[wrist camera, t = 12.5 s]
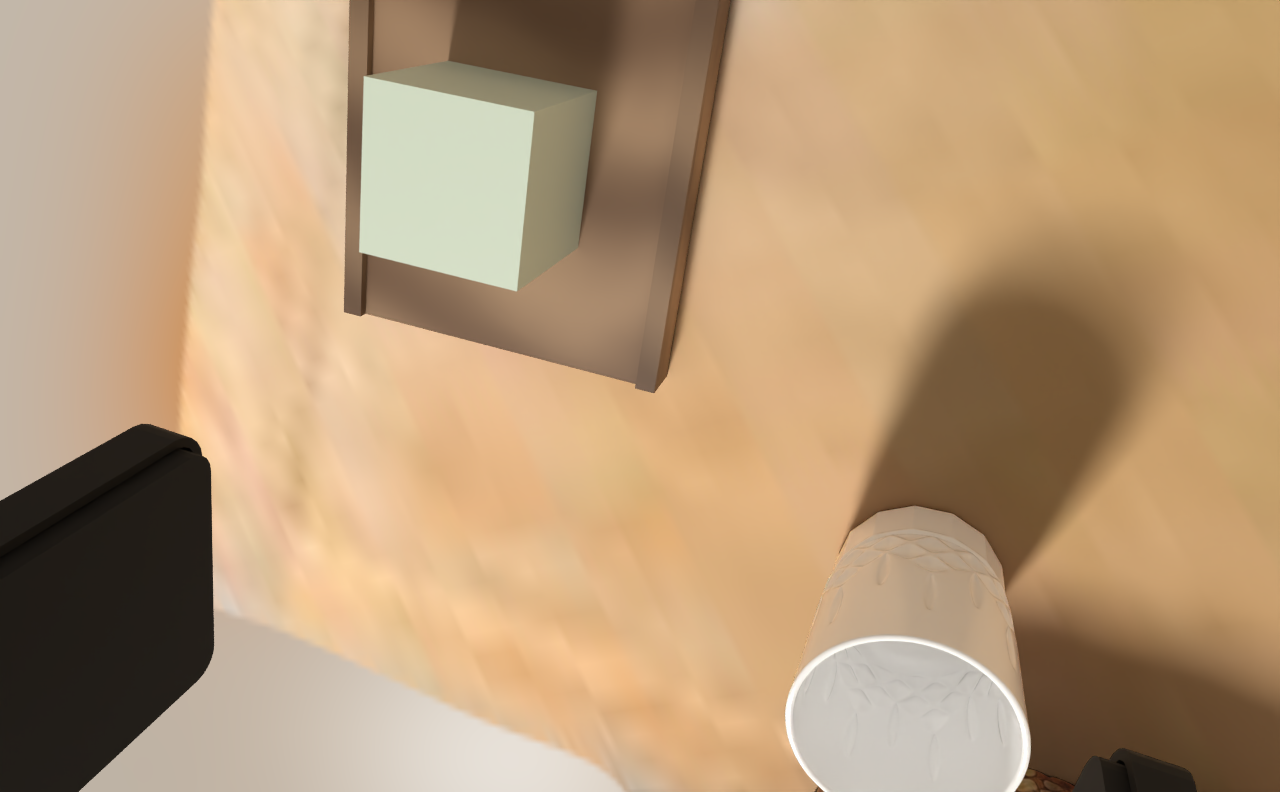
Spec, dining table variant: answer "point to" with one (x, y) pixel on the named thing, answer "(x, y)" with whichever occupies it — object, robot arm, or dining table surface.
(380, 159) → the sage block
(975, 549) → the white cup
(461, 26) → the board
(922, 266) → the dining table surface
